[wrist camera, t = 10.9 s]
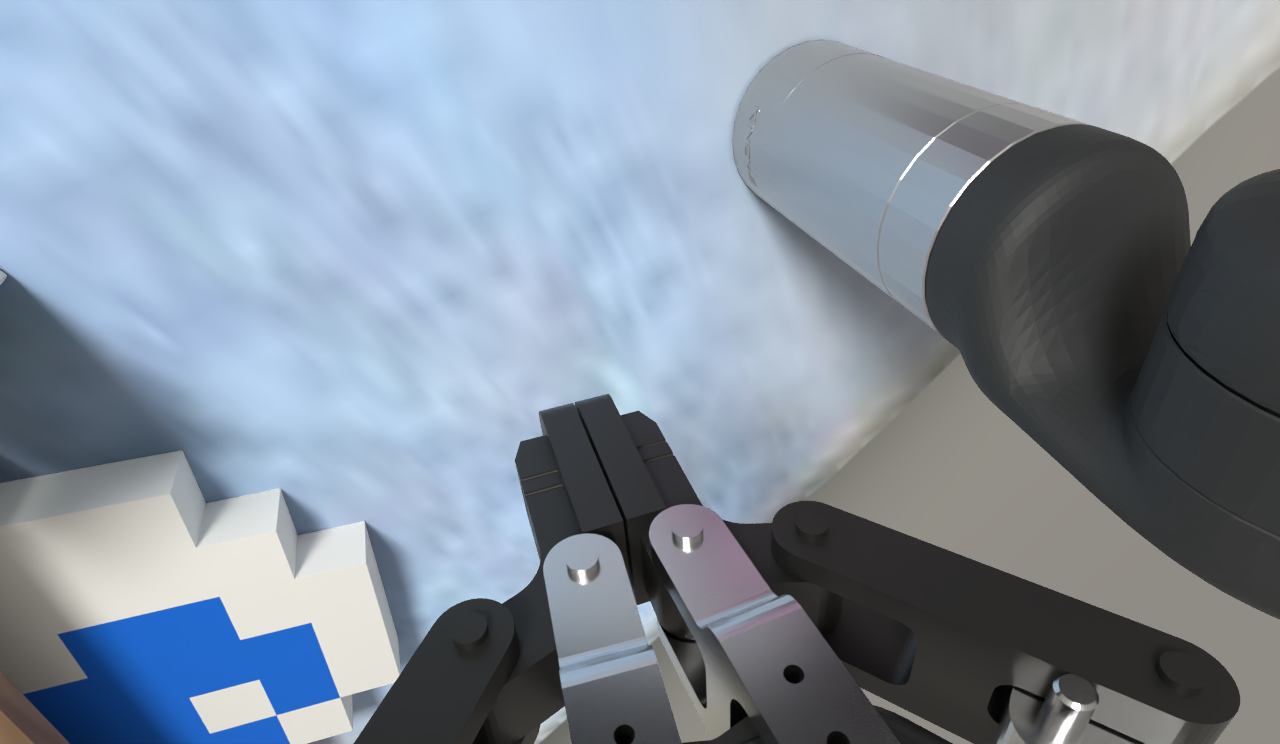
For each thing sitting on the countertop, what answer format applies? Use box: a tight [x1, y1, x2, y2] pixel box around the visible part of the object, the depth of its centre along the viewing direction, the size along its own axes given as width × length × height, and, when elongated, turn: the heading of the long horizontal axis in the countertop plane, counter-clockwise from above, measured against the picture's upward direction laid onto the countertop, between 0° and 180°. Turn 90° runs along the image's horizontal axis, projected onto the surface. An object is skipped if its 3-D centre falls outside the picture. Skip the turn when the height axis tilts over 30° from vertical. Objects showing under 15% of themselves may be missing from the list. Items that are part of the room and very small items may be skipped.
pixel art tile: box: [0, 450, 401, 744], centre depth 45 cm, size 28×4×28 cm
